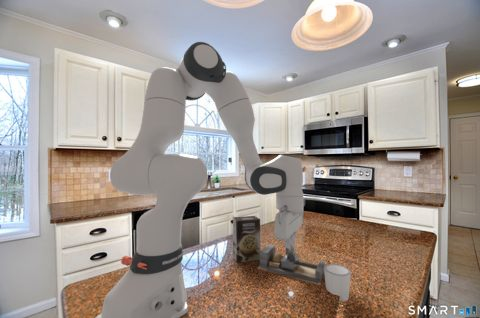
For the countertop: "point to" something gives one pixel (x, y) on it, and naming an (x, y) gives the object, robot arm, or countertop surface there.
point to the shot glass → (337, 280)
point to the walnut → (277, 258)
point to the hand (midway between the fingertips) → (290, 245)
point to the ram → (290, 257)
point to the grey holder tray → (303, 272)
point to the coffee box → (246, 238)
